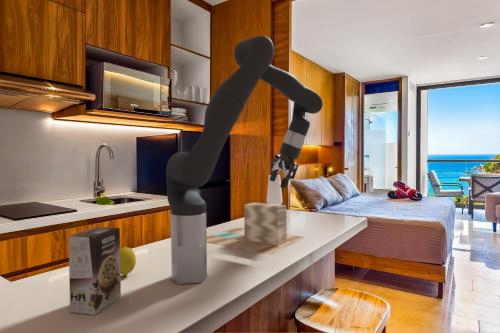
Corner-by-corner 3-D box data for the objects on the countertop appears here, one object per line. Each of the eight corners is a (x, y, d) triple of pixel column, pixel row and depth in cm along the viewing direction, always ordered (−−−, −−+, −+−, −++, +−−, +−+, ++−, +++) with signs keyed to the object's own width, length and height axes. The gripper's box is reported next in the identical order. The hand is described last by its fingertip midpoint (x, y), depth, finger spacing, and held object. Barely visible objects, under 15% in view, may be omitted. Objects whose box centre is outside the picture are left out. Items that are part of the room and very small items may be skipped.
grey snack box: (96, 315, 67) (94, 236, 66) (68, 312, 68) (66, 235, 68) (122, 296, 76) (121, 227, 75) (97, 294, 77) (96, 226, 77)
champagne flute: (274, 234, 135) (274, 175, 134) (263, 231, 140) (263, 175, 139) (285, 232, 139) (285, 175, 139) (274, 229, 144) (274, 174, 144)
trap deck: (306, 241, 124) (306, 237, 124) (271, 259, 103) (271, 254, 103) (237, 230, 142) (237, 227, 142) (195, 244, 121) (195, 240, 121)
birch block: (286, 241, 118) (286, 205, 117) (278, 245, 113) (278, 207, 112) (253, 236, 126) (253, 202, 125) (244, 240, 121) (244, 204, 120)
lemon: (123, 281, 86) (122, 250, 85) (109, 277, 88) (109, 247, 88) (140, 274, 90) (139, 245, 90) (127, 270, 93) (126, 242, 93)
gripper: (275, 138, 129) (260, 176, 131) (294, 145, 116) (278, 188, 118) (290, 143, 132) (276, 181, 134) (310, 151, 120) (294, 192, 122)
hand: (277, 184), depth 126 cm, fingers open, 8 cm apart
